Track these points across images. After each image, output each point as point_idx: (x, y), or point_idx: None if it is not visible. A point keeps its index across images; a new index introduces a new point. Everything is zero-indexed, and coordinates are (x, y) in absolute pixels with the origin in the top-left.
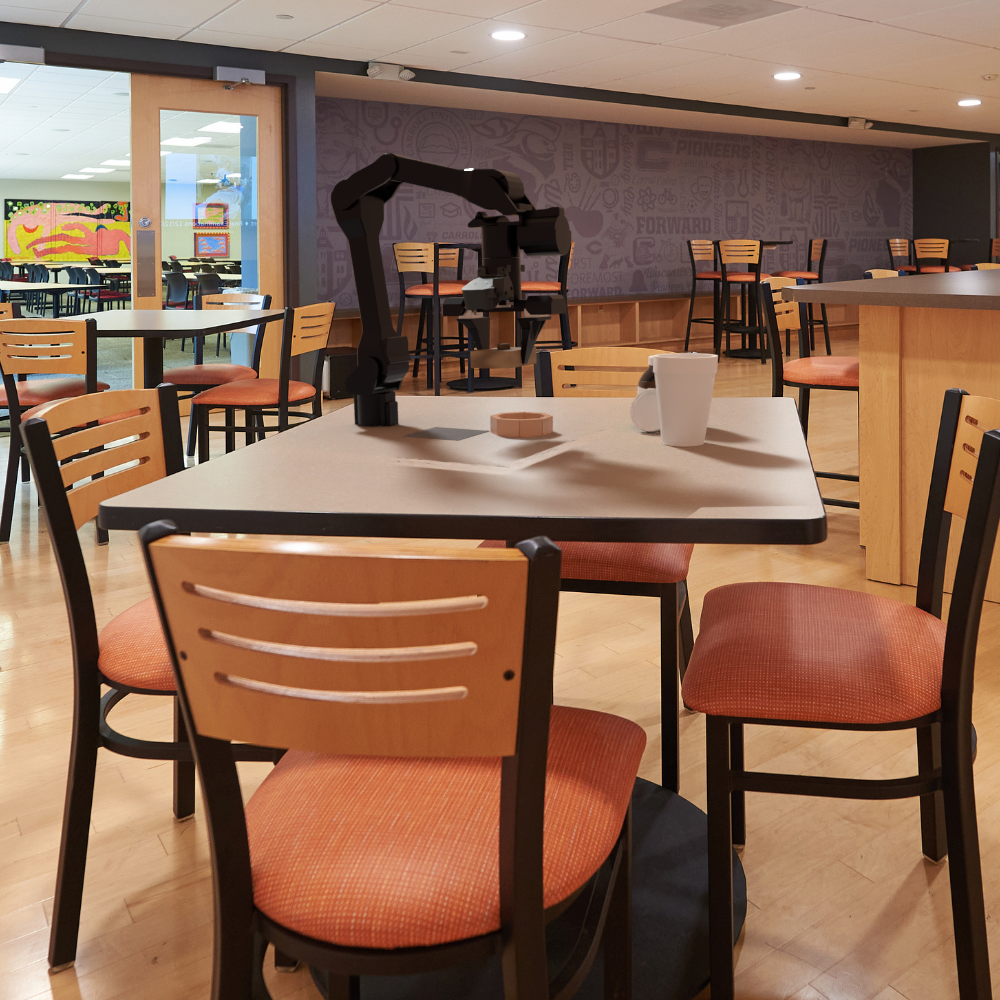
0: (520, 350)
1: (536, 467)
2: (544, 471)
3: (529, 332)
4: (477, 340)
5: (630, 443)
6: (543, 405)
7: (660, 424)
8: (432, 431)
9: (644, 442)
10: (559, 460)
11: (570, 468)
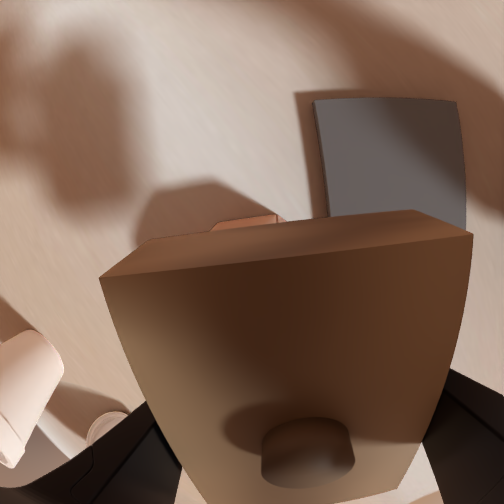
0: (162, 424)
1: (61, 53)
2: (44, 45)
3: (40, 477)
4: (494, 411)
5: (73, 328)
6: (385, 492)
7: (35, 356)
8: (443, 186)
9: (68, 343)
10: (57, 120)
11: (26, 87)
